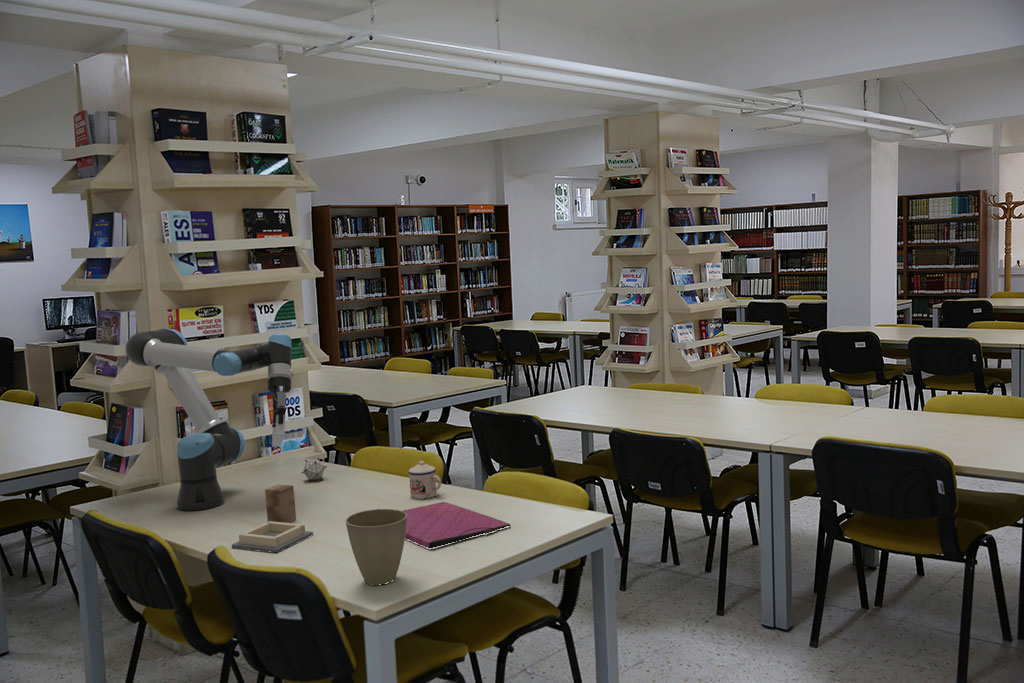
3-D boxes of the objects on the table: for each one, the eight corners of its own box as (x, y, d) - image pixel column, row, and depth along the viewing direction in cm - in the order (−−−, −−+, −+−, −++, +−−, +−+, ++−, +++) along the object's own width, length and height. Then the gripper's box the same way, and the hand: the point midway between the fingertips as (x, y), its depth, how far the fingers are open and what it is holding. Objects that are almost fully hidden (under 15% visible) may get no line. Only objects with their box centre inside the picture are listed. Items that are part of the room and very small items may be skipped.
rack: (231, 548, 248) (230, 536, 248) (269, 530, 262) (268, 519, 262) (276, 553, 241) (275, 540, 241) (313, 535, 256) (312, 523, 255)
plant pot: (376, 596, 206) (371, 530, 204) (337, 583, 216) (333, 520, 214) (423, 577, 217) (419, 514, 215) (384, 565, 227) (380, 505, 225)
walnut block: (267, 524, 269) (265, 489, 268) (280, 518, 274) (278, 484, 273) (283, 526, 266) (280, 490, 265) (296, 520, 272) (293, 485, 271)
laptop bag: (366, 512, 265) (442, 495, 281) (367, 525, 265) (443, 507, 281) (436, 540, 233) (518, 520, 249) (437, 555, 233) (518, 534, 249)
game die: (319, 490, 321) (322, 472, 315) (297, 483, 321) (299, 465, 315) (327, 473, 328) (330, 455, 322) (305, 466, 328) (308, 448, 322)
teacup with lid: (404, 497, 291) (402, 463, 289) (421, 491, 298) (419, 457, 297) (432, 501, 284) (430, 466, 283) (449, 494, 291) (447, 460, 290)
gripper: (295, 366, 282) (294, 429, 275) (287, 391, 304) (286, 451, 296) (270, 365, 280) (269, 429, 272) (265, 390, 302) (263, 450, 294)
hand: (278, 440), depth 284 cm, fingers open, 13 cm apart
